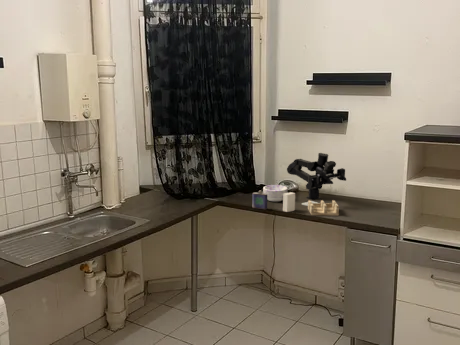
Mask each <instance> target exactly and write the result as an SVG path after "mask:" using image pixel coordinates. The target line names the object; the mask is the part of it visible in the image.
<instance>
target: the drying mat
mask: <svg viewBox="0 0 460 345" xmlns="http://www.w3.org/2000/svg"><path fill="white" fill-rule="evenodd" d="M311 202H312V203H318V202H317V201H314V200H311ZM301 205H302V206H306V207H308V201H306V202H302V203H301Z"/></svg>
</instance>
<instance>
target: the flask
mask: <svg viewBox="0 0 460 345" xmlns="http://www.w3.org/2000/svg"><path fill="white" fill-rule="evenodd" d="M252 209H257V210H258V209H260V210H268V200H267V194H265V193H263V191H262V189H261V190H258V192H252Z"/></svg>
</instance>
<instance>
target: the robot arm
mask: <svg viewBox="0 0 460 345" xmlns="http://www.w3.org/2000/svg"><path fill="white" fill-rule="evenodd" d="M317 156H318V158H317V160H316V161H309V160H306V159H303V158H296V159H294V160H293V161H292V162H291V163H290V164H288V166H287V167H286V172H287V173H288V174H289V175H293V176H297V177H299V178H300V179H302V180H303V181H306V182H307V183H306V184H305V189H307V190H308V196H306V199H308V200H311V201H314V200H321V197H320V190H322V188H323V185H333V184H334V182H333V181H332V180H334V179H336V178H337V179H338V181H347V178H346V169H345V168H344V167H343V168H342V167H341V168H338V169H337V170H336V173H335V169H334V168H335V167H336V166H337V162H336V161H334V160H329V153H322V152H318V155H317ZM303 168H306V169H307V170H308V171H310V172H315V174H313V175H312V174H310V173H308V172H306V171H304V170H303Z"/></svg>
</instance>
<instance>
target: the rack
mask: <svg viewBox="0 0 460 345" xmlns="http://www.w3.org/2000/svg"><path fill="white" fill-rule="evenodd" d="M311 201H312V199H308V201H307V202H308V206H307V210H308V212H309V213H310V216H330V217H331V216H332V217H333V216H337V217H338V216H339V215H340V212H339V211H340V210H339V209H340V206H339V205H338V203H337V202H336V200H334V199H332V200H331V202H330V203H329V202H328V203H327V202H326V203H325V201H324V200H323V199H322V200H321V199H320V202H317V203H312V202H311Z"/></svg>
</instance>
